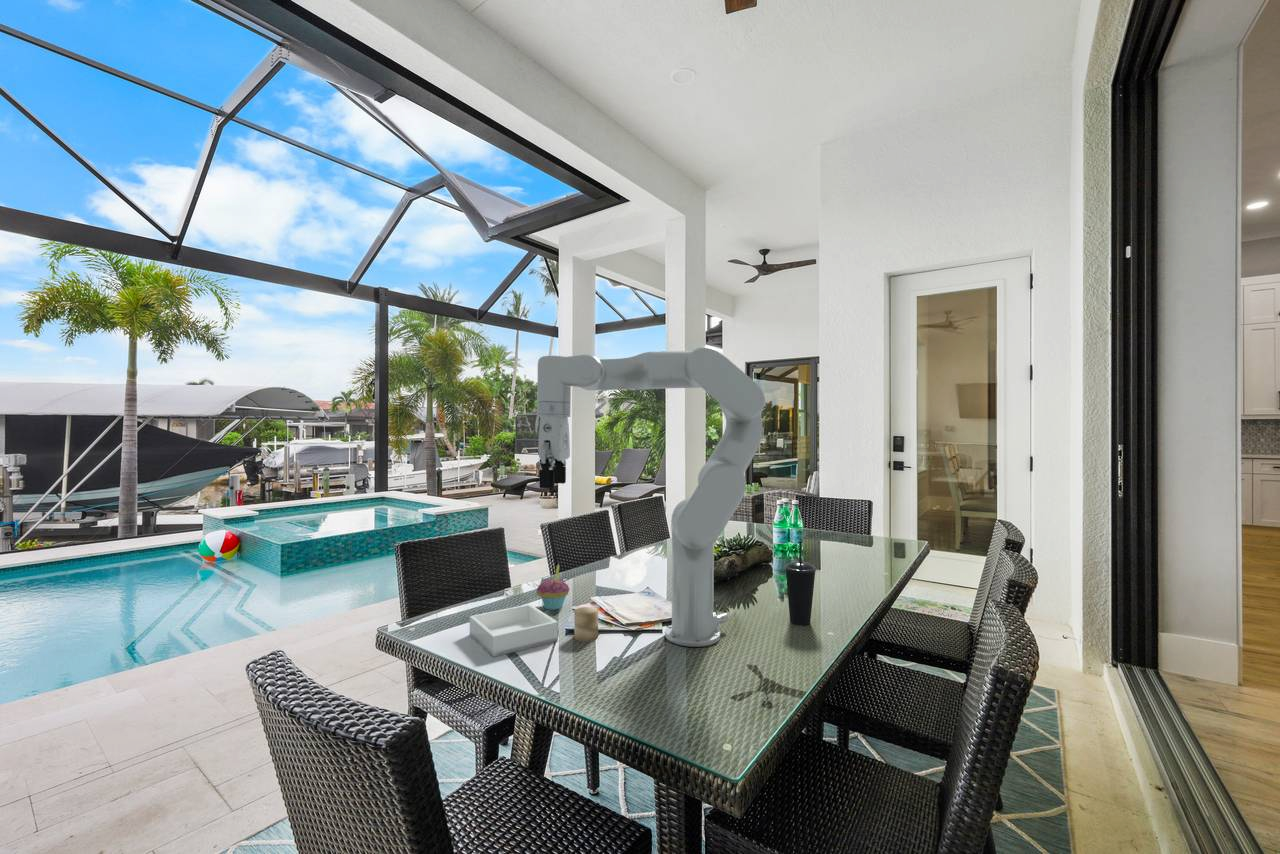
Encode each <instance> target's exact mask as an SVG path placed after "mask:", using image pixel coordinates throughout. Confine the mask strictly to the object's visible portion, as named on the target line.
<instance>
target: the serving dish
mask: <svg viewBox="0 0 1280 854" xmlns="http://www.w3.org/2000/svg"><path fill="white" fill-rule="evenodd" d="M558 625H559V622H558V621H557V620H556V619H554V618H552V617H551V616H550V615H548V614H546V613H545V612H543V611H542V610H540V609H539V608H537V607H535V606H534V605H533V604H531V603H529V604H522V605H518V606H514V607H513V606H512V607H508V608H504V609H498V610H494V611H489V612H483V613H479V614H474V615H473V614H472V615H470V616H469V635H470V636H471V638H473V640H475V641H476V642H477V644H479V645H480V646H481V647H482V648H483V649H484V650H485V651H486V652H487V653H488V654H490V656H492V658H495V657H499V656H503V655H507V654H510V653H515V652H519V651H522V650H527V649H531V648H535V647H539V646H543V645H547V644H551V643H554V642H558V641H559V640H558V639H559V632H558V630H559V629H558Z"/></svg>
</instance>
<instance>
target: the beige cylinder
mask: <svg viewBox="0 0 1280 854" xmlns="http://www.w3.org/2000/svg"><path fill="white" fill-rule="evenodd" d="M573 613H574V614H573V615H574V616H573V617H574V618H573V619H574V630H573V631H574V636H573V637H574V639H575V640H576V641H578V642H584V643H585V642H592V641H595V640H597V639H599V610H598V608H596V607H593V606H592V607H591V606H583V607H579V608H576V609H575V610H574V612H573Z"/></svg>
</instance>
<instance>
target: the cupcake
mask: <svg viewBox="0 0 1280 854" xmlns="http://www.w3.org/2000/svg"><path fill="white" fill-rule="evenodd" d="M559 572H560V562H558V563H557V566H556V570H555V578H554V579H548V580H544V581H542V582H541V583H540V584H538V586H537V588H536V594H537V596H539V597H540V598H541V600H542V603H543V607H544V608H545V610H559V609H561V608H563V607H564V606H563V605H564V602H565V600H566V597H567V596H568V594H569V592H570V587H569V585H568V583H566V582H565V581H563V580H562V579H559Z"/></svg>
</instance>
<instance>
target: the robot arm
mask: <svg viewBox="0 0 1280 854" xmlns="http://www.w3.org/2000/svg"><path fill="white" fill-rule="evenodd" d="M536 386H537V389H536V390H537V394H536V395H537V397H536V398H537V400H536V401H537V402H536V404H537V405H536V406H537V407H536V410H537V411H536V417H539V419H540V420H539V428H538V429H539V431H538V432H539V433H538V457H539V460H538V461H539V488H540V489H554V488H555V484H563V485H564V484H566V482H567V481H566V480H567V476H566V475H567V472H566V471H567V467H566V466H567V462H566V460H568V459H569V458H570V457H571V448H570V446H571V445H570V442H571V441H570V426H569V418H571V399H572V398H571V391H572V389H571V387H577V388H581V389H583V390H586V391H613V390H614V391H615V390H617V391H618V390H619V391H620V390H642V391H643V390H660V389H661V390H662V389H664V390H665V389H694V388H696V389H697V388H698V389H699V388H701V389H703V390H704V392H706V393H707V394H708V395H709V396H710V397H712V398H713V399H714V400H715V401H716V402H717V403H718V404H719V406H720V410H721V412H722V413H723V415H724V417H725V428H724V431H723V434H722V436H721V438H720V439H719V440H718V441H719V442H718V443H717V444H716V446H715V448H714V450H713V451H712V453H711V454H710V456H709V458H708V459H707V460H706V462H705V463H704V465H703V467H702V468H700V471H699V473H698V477H697V486H696V488H695V489H694V491H693V493H692V494H691V497H690V498H689V497H688V498H686V499H682V501H680V502H678V504H676V506H675V508H674V509H673V511H672V514H671V525H670V526H671V528H670V529H671V556H672V558H671V560H672V562H671V565H672V567H671V625H669V626H667V627H666V628H665V630H664V637H665V638H666V640H668V641H669V642H671V643H673V644H675V645H679V646H681V647H682V646H684V647H691V648H692V647H693V648H695V647H696V648H699V647H708V646H711V645H714V644H716V643H718V642H719V641H720V639H721V631H720V630H719V629H718V628H717V627H718V626H719V625H720V624H724V623H727V622H728V621H729V615H728V613H722V614H719V615H717V613H716V612H714V599H715V597H714V591H715V590H714V586H715V585H714V581H715V580H714V579H715V577H714V576H715V575H714V573H715V572H714V570H715V564H714V563H715V550H714V549H715V548H714V547H715V546H714V543H715V542H716V541H717V540H718V538H719V537H720V536H721V534H722V532H723V531H724V529H726V526H727V525H728V523H729V521H730V520H731V519H732V516H733V515H734V513H735V512H736V510H737V508H738V507H739V505H740V503H741V502H742V500H743V498H744V496H745V494H746V489H747V479H746V476H745V473H746V471H747V469H748V467H749V466H750V464H751V463H752V461H753V458H754V457H755V455H756V453H757V452H758V449H759V447H760V444H761V442H762V437H763V419H762V415H761V413H762V412H763V410H764V407H765V404H766V398H765V397H766V396H765V394H764V392H763V389H762V388H761V386H760V385H759V384H758V383H757V382H756V381H754V379H753V378H752V377H750V376H748V375H747V374H746V373H745V372H744V371H743V370H742V369H740V368H739V367H738V366H737V365H736V364H735V363H733V362H732V361H731V360H730V359H729V358H728V357H727V356H726V355H724V353H722V352H720V351H719V350H718V349H716V348H715V347H711V346H699V347H697V348H696V349H694V350H672V351H671V350H670V351H669V350H668V351H647V352H642V353H639V354H637V355H633V356H629V357H623V358H611V359H610V358H609V359H608V358H602V359H600V358H598V357H596V356H594V355H592V354H578V355H571V356H562V355H544V356H540V357H539V359H538V360H537V385H536Z"/></svg>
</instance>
